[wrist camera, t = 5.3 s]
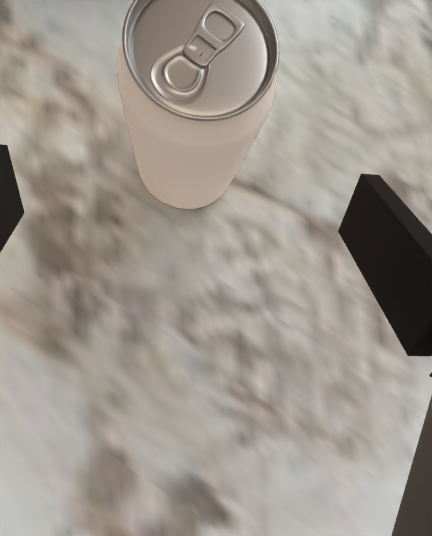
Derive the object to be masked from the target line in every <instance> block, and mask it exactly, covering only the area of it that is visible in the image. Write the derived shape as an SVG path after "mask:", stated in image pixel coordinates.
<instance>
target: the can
mask: <svg viewBox="0 0 432 536" xmlns="http://www.w3.org/2000/svg"><path fill="white" fill-rule="evenodd" d="M278 62H279V43H278V37H277V33H276V29H275V26H274V24H273V21H272V19H271V17H270V15H269V14H268V12H267V10H266V9H265V7H264V6H263V5H262V3H261V2H260V1H259V0H134V1H133V3H132V4H131V6H130V8H129V10H128V12H127V15H126V18H125V21H124V26H123V33H122V40H121V43H120V46H119V50H118V56H117V77H118V83H119V89H120V94H121V99H122V103H123V108H124V112H125V117H126V121H127V125H128V129H129V134H130V138H131V142H132V146H133V151H134V155H135V159H136V163H137V167H138V170H139V174H140V176H141V179H142V181H143V183H144V185H145V187H146V188H147V190H148V191H149V192H150V193H151V194H152V195H153V196H154V197H155V198H157V199H158V200H160V201H162V202H163V203H165V204H167V205H170V206H172V207H175V208H180V209H196V208H200V207H204V206H206V205H209V204H210V203H212V202H214V201H215V200H217V199H218V198H219V197H220V196H221V195H222V194H223V193H224V192H225V191H226V189H227V188H228V186H229V184H230V183H231V181H232V179H233V178H234V176H235V174H236V172H237V171H238V169H239V167H240V165H241V163H242V161H243V160H244V158H245V156H246V154H247V152H248V151H249V149H250V147H251V145H252V143H253V141H254V140H255V138H256V136H257V134H258V132H259V130H260V128H261V127H262V125H263V123H264V121H265V119H266V117H267V115H268V113H269V111H270V108H271V106H272V103H273V100H274V97H275V93H276V87H277V67H278Z"/></svg>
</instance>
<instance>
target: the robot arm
mask: <svg viewBox="0 0 432 536" xmlns="http://www.w3.org/2000/svg"><path fill="white" fill-rule="evenodd" d="M23 214H24V209H23V205H22V202H21V198H20V194H19V190H18V186H17V182H16V178H15V174H14V170H13V166H12V162H11V158H10V154H9V150H8V146H7V145H0V252H1V250H2V249H3V247H4V245H5V244H6V242H7V241H8V239H9V237H10V236H11V234H12V232H13V231H14V229H15V227H16V226H17V224H18V222H19V221H20V219H21V218H22V216H23ZM338 232H339V234H340V235H341V237H342V239H343V241H344V243H345V244H346V246H347V248H348V250H349V252H350V253H351V255H352V257H353V259H354V260H355V262H356V264H357V266H358V268H359V269H360V271H361V273H362V275H363V277H364V278H365V280H366V282H367V284H368V285H369V287H370V289H371V291H372V293H373V294H374V296H375V298H376V300H377V302H378V303H379V305H380V307H381V309H382V310H383V312H384V314H385V316H386V318H387V319H388V321H389V323H390V325H391V326H392V328H393V330H394V332H395V334H396V335H397V337H398V339H399V341H400V343H401V344H402V346H403V348H404V350H405V351H406V353H407V355H408V356H432V234H431V233H430V232H429V231H428V230H427V228H426V227H425V226H424V225H423V224H422V223H421V222H420V221H419V219H418V218H417V217H416V216H415V215H414V214H413V213H412V212H411V210H410V209H409V208H408V207H407V206H406V205H405V204H404V203H403V201H402V200H401V199H400V198H399V197H398V196H397V195H396V194H395V192H394V191H393V190H392V189H391V188H390V187H389V186H388V184H387V183H386V182H385V181H384V180H383V179H382V178H381V177H380V175H370V174H361V175H360V178H359V180H358V183H357V185H356V188H355V190H354V193H353V195H352V198H351V201H350V203H349V206H348V208H347V211H346V213H345V216H344V218H343V221H342V223H341V226H340V228H339V231H338ZM429 376H430V377H432V373H431V374H430V375H429ZM392 536H432V396H431V400H430V403H429V407H428V410H427V414H426V417H425V421H424V424H423V428H422V431H421V435H420V438H419V442H418V445H417V449H416V452H415V456H414V459H413V463H412V466H411V470H410V473H409V476H408V480H407V483H406V487H405V490H404V494H403V497H402V501H401V504H400V508H399V511H398V515H397V518H396V522H395V525H394V529H393V532H392Z"/></svg>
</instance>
